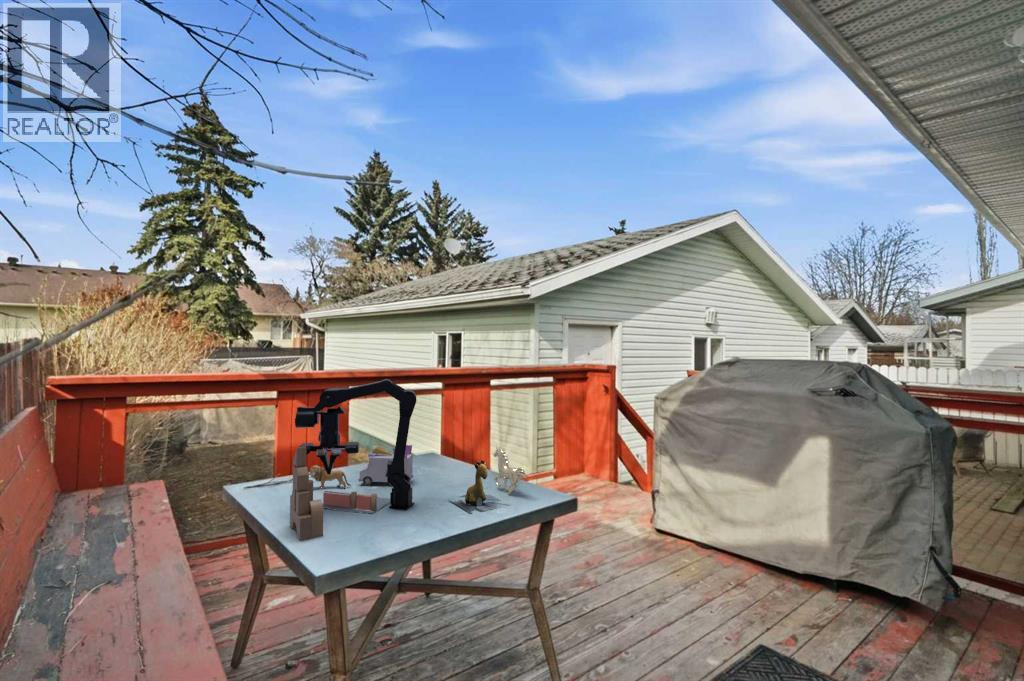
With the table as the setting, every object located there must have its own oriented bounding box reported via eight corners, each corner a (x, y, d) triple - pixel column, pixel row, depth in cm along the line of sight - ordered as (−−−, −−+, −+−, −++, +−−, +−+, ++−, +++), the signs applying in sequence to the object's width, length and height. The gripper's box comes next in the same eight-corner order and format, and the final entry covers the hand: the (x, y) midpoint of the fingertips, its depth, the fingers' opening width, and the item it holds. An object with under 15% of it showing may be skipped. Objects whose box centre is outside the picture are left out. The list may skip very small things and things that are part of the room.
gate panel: (351, 506, 165) (351, 493, 165) (349, 507, 164) (349, 494, 164) (325, 503, 168) (325, 490, 168) (323, 504, 167) (323, 491, 166)
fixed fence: (377, 510, 163) (377, 493, 163) (374, 512, 161) (374, 495, 161) (352, 507, 165) (353, 491, 165) (349, 509, 164) (350, 492, 164)
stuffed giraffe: (470, 514, 161) (471, 465, 162) (445, 501, 176) (446, 456, 176) (510, 507, 170) (512, 461, 171) (483, 495, 185) (485, 452, 185)
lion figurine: (309, 491, 182) (309, 467, 182) (310, 487, 187) (310, 464, 187) (350, 488, 187) (351, 465, 187) (350, 484, 192) (351, 461, 192)
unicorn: (529, 499, 177) (530, 451, 177) (521, 501, 175) (521, 452, 175) (497, 485, 193) (498, 441, 193) (489, 487, 191) (489, 443, 191)
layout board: (395, 499, 174) (395, 498, 174) (372, 514, 160) (372, 513, 160) (342, 494, 180) (342, 493, 180) (316, 507, 165) (316, 506, 165)
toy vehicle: (365, 479, 198) (366, 442, 198) (413, 481, 198) (414, 443, 198) (357, 486, 189) (358, 447, 189) (408, 488, 188) (408, 448, 188)
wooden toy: (324, 536, 142) (325, 449, 142) (299, 541, 138) (300, 452, 138) (311, 519, 155) (312, 440, 155) (288, 523, 151) (289, 442, 151)
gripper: (361, 422, 172) (360, 466, 172) (304, 423, 169) (304, 469, 169) (358, 428, 161) (357, 475, 162) (297, 429, 158) (296, 478, 158)
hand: (329, 474), depth 163 cm, fingers closed
